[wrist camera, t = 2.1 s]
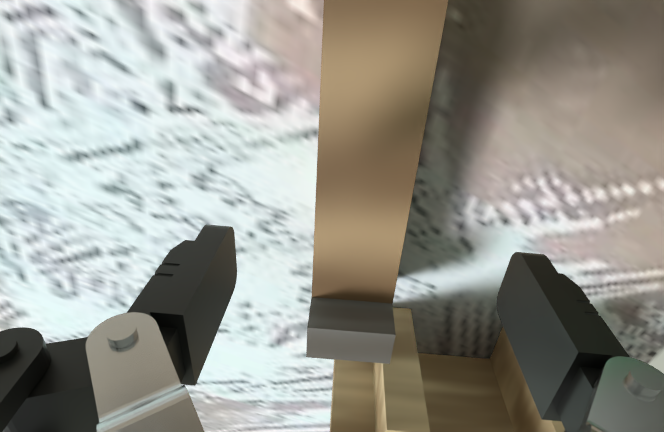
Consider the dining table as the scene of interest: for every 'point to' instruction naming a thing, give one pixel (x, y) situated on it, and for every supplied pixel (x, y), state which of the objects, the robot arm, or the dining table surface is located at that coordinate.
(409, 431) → the wooden post stand
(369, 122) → the rail
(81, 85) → the dining table surface
